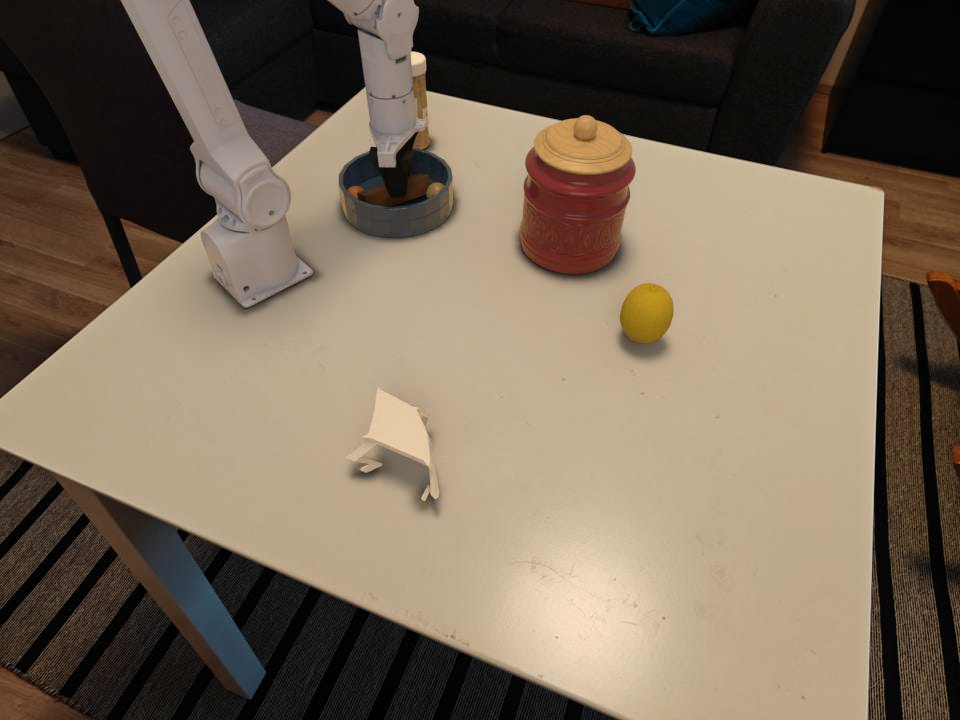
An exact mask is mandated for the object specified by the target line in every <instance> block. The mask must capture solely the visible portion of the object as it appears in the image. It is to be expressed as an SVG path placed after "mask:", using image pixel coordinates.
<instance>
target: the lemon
mask: <svg viewBox="0 0 960 720" xmlns="http://www.w3.org/2000/svg"><path fill="white" fill-rule="evenodd" d="M674 310H675V309H674V301H673V297H672V296H671V294H670V292H669V291H668V290H667V289H666V288H665V287H663V286H662V285H660V284H657V283H652V282H646V283H641V284H638V285H636V286H634V287H633V288H632V289H631V290H630V291H629V292H628V294H627V295H626V297H625V299H624V300H623V302H622V304H621V309H620V312H619V321H620V326H621V328H622V330H623V332H624V334H625V336H627V337H628V338H629V339H631V341H634V342H636V343H640V344H649V343H650V344H651V343H653V342H657V341H658V340H659V339H661V338H662V337H663V336H665V334H667V331H669V329H670V327H671V325H672V321H673V318H674Z"/></svg>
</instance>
